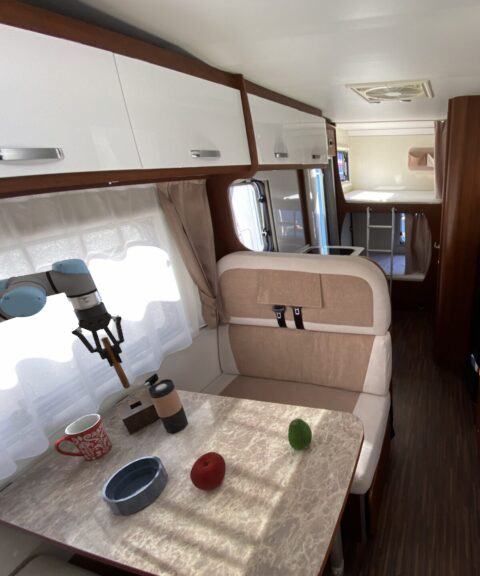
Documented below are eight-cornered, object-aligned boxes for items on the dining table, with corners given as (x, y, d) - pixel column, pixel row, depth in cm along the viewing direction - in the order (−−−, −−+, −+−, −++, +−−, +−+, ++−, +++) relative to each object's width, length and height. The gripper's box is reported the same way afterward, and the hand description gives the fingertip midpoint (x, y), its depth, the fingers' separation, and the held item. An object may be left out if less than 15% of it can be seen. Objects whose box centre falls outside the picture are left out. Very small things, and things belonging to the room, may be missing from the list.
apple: (194, 503, 90) (184, 481, 86) (197, 476, 98) (188, 454, 94) (229, 489, 93) (221, 467, 89) (229, 463, 101) (222, 442, 97)
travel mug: (183, 432, 114) (166, 391, 106) (161, 436, 113) (143, 394, 105) (192, 417, 121) (176, 377, 113) (171, 420, 120) (154, 380, 112)
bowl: (115, 528, 84) (106, 514, 82) (106, 494, 93) (97, 480, 91) (174, 488, 94) (168, 474, 92) (161, 461, 103) (154, 447, 101)
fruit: (316, 450, 105) (311, 424, 100) (293, 460, 102) (287, 434, 97) (310, 433, 111) (306, 408, 107) (289, 442, 108) (283, 417, 104)
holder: (130, 435, 114) (122, 419, 111) (124, 421, 121) (116, 406, 118) (161, 418, 121) (155, 403, 118) (154, 406, 128) (148, 391, 125)
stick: (125, 390, 112) (99, 338, 105) (124, 388, 113) (99, 337, 106) (131, 387, 114) (107, 336, 106) (130, 385, 115) (106, 334, 108)
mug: (112, 436, 114) (97, 409, 109) (117, 449, 109) (102, 421, 103) (66, 460, 105) (48, 432, 100) (69, 476, 100) (50, 447, 95)
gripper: (57, 316, 93) (90, 378, 102) (118, 300, 103) (143, 357, 112) (55, 310, 97) (87, 369, 106) (114, 294, 107) (138, 350, 117)
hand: (115, 363), depth 109 cm, fingers closed on stick, 2 cm apart
